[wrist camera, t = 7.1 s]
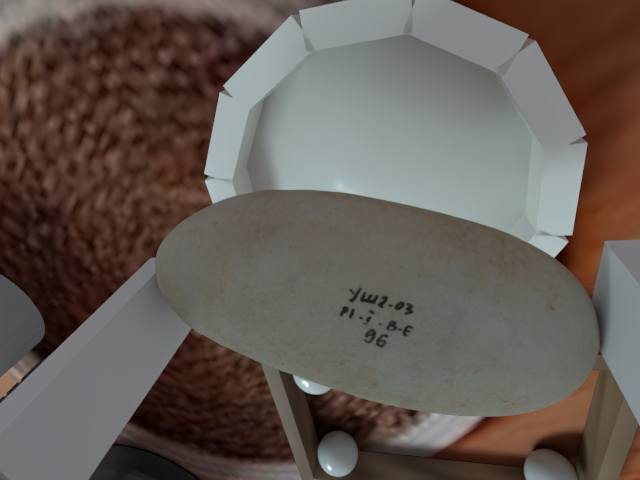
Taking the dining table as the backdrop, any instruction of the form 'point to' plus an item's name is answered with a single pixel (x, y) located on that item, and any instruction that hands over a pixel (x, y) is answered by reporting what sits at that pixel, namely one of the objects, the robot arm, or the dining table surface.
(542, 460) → the pebble
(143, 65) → the dining table surface
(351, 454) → the pale glossy ball
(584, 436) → the parts frame
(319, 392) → the pebble
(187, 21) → the dining table surface
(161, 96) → the dining table surface
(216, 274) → the stone
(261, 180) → the bowl
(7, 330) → the mug
